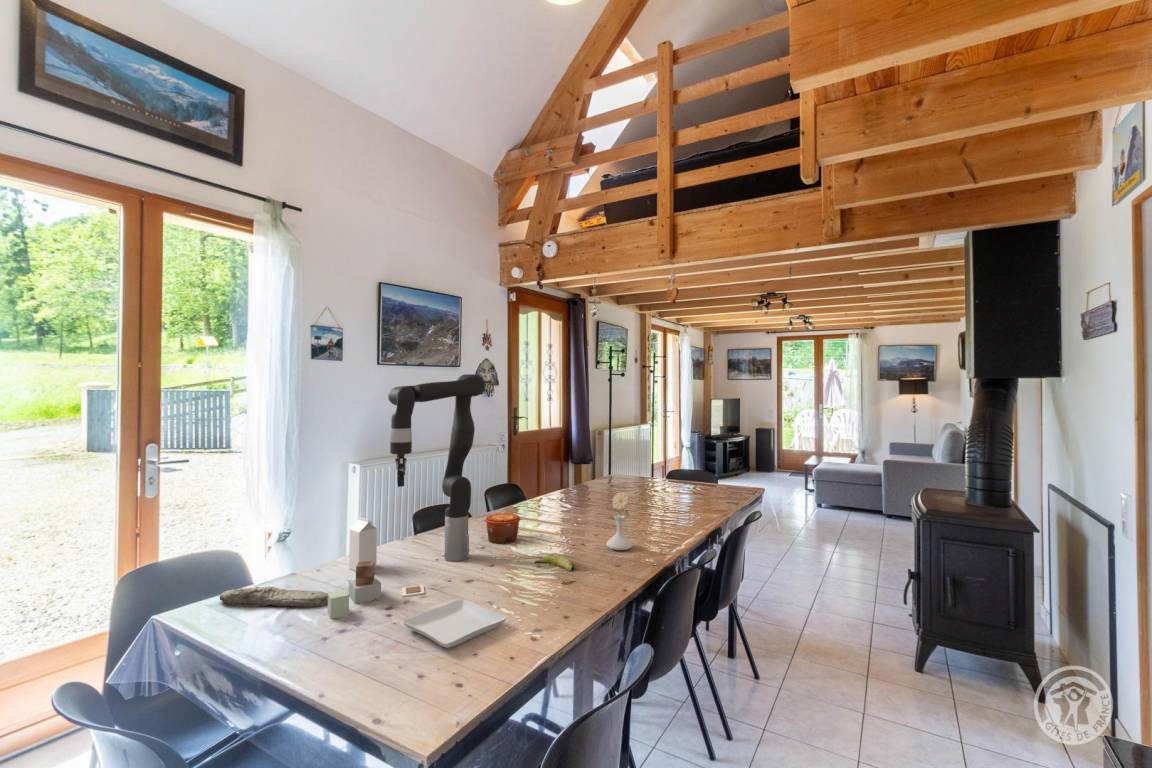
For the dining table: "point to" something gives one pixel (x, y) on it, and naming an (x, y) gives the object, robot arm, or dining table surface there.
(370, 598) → the base block
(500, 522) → the food container
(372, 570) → the walnut block
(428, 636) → the salad plate
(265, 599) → the long grey stone
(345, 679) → the dining table surface
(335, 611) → the sage block
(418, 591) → the swatch
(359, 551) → the milk carton
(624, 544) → the flower in vase
